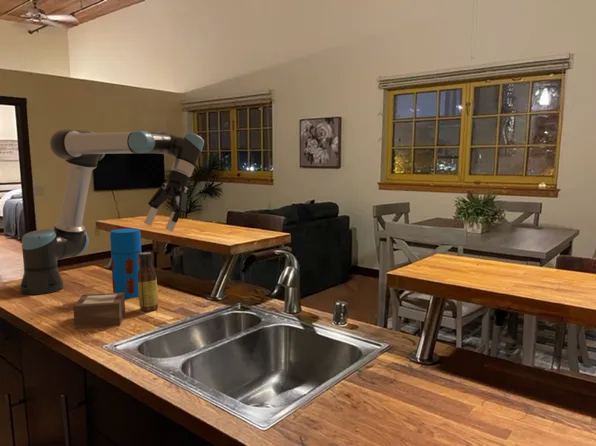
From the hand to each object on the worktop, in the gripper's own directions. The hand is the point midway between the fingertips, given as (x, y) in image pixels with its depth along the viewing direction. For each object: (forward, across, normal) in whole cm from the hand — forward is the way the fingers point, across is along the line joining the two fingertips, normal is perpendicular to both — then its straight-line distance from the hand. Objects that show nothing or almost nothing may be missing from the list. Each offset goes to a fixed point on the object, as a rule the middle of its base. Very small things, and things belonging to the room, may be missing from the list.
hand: (157, 227), depth 163 cm
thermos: (+27, +16, -10) cm, 33 cm away
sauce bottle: (+28, -6, -6) cm, 29 cm away
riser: (+35, -4, +9) cm, 36 cm away
